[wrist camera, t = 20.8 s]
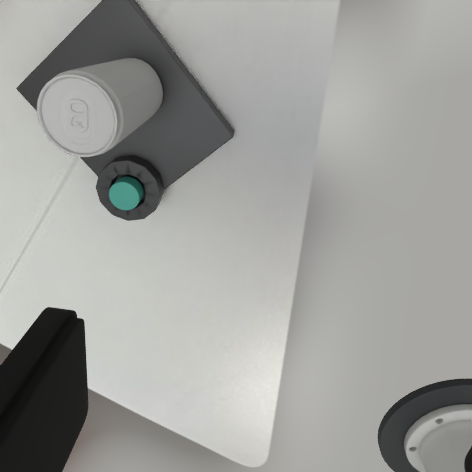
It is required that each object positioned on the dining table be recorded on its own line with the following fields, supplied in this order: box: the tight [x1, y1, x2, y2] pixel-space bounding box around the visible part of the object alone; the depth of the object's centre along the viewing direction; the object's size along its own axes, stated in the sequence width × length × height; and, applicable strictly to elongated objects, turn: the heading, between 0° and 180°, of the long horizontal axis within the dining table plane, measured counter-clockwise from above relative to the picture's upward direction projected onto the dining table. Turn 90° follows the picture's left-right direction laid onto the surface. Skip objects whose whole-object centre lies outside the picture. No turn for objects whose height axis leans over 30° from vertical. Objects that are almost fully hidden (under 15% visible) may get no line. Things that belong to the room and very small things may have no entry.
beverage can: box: [37, 58, 163, 157], centre depth 28 cm, size 5×5×12 cm
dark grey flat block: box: [16, 0, 234, 220], centre depth 35 cm, size 15×13×4 cm
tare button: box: [109, 176, 144, 210], centre depth 36 cm, size 3×3×2 cm
